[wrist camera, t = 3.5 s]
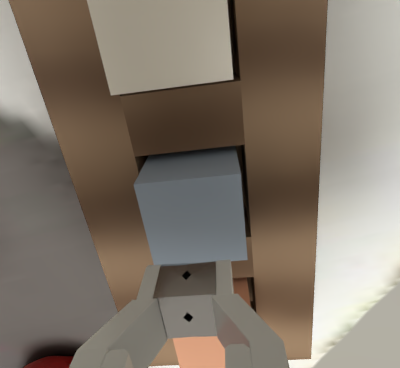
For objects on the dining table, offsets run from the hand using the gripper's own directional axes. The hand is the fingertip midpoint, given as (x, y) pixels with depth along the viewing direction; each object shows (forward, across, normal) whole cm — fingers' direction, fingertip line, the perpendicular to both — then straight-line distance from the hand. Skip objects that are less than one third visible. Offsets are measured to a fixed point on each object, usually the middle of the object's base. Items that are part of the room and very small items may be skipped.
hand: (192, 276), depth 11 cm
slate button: (+6, 0, 0) cm, 6 cm away
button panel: (+9, 0, 0) cm, 9 cm away
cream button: (+6, 0, -8) cm, 10 cm away
